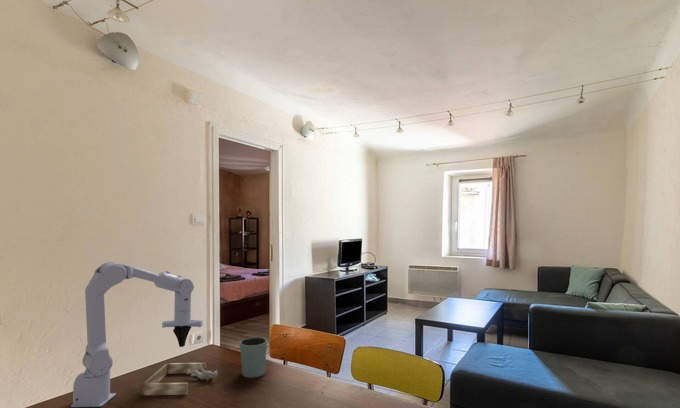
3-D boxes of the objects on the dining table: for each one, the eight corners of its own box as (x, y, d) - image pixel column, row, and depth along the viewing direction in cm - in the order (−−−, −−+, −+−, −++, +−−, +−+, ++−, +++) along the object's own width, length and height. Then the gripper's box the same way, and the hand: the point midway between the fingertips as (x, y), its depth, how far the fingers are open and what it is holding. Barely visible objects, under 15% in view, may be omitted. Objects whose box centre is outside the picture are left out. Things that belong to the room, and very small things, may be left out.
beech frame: (141, 395, 120) (141, 384, 120) (166, 372, 138) (166, 363, 138) (186, 394, 120) (186, 383, 120) (205, 371, 138) (205, 362, 138)
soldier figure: (198, 375, 138) (225, 368, 135) (194, 388, 134) (222, 381, 131) (185, 366, 133) (212, 358, 131) (181, 379, 129) (209, 371, 127)
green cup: (260, 379, 131) (260, 346, 132) (234, 377, 133) (234, 344, 134) (270, 368, 141) (270, 337, 142) (246, 366, 143) (247, 336, 144)
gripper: (205, 307, 142) (205, 342, 141) (168, 307, 141) (167, 342, 141) (198, 311, 135) (198, 348, 134) (159, 312, 134) (159, 349, 134)
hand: (182, 346), depth 137 cm, fingers closed
